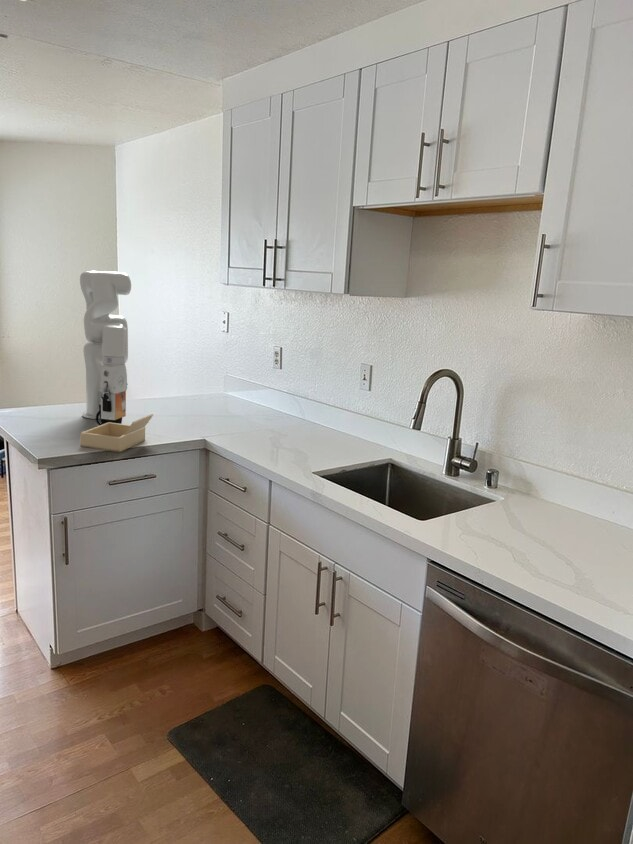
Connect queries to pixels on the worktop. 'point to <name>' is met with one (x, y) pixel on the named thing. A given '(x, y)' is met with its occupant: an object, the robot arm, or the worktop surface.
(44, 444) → the worktop surface
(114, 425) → the carton
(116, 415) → the small box
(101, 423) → the mug
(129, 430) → the flap
